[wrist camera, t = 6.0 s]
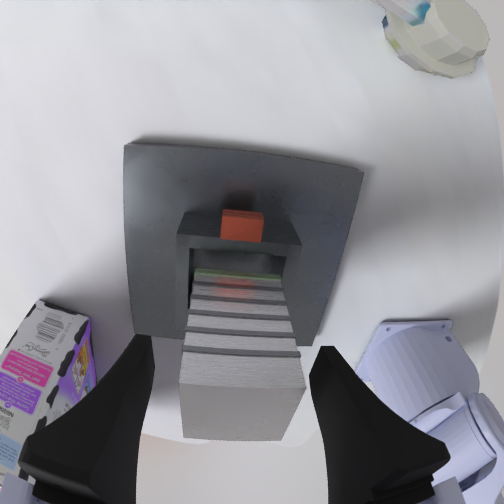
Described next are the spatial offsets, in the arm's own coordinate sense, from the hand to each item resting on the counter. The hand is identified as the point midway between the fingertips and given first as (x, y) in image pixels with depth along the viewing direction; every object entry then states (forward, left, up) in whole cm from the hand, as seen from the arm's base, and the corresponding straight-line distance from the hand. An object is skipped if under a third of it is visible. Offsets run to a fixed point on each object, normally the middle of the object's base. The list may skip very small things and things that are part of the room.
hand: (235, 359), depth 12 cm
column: (0, 0, -4) cm, 4 cm away
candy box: (+15, +13, -9) cm, 22 cm away
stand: (0, 0, -9) cm, 9 cm away
